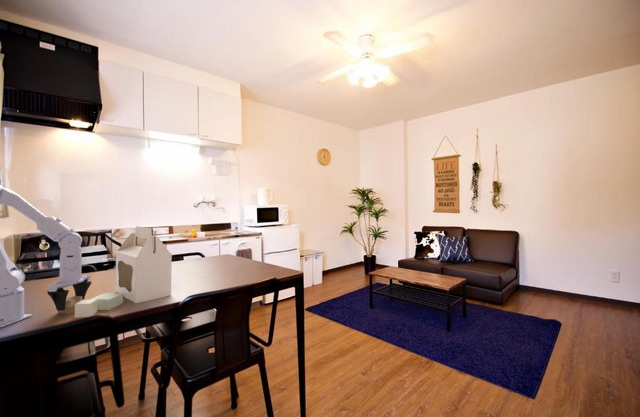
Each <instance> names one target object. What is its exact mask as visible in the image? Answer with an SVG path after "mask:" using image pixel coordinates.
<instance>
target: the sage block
mask: <svg viewBox="0 0 640 417" xmlns="http://www.w3.org/2000/svg"><path fill="white" fill-rule="evenodd" d="M90 299H98V303H97V311H110V310H113V309H115V308H116V307H118V306H120V305H122V304H124V296H123V293H117V292H103V293H101V294H99V295H97V296H93V297H91V298H90Z"/></svg>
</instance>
